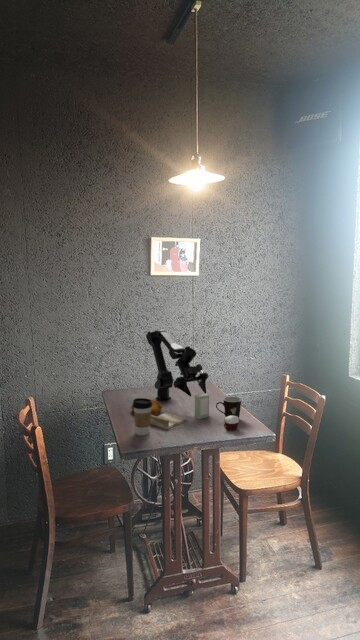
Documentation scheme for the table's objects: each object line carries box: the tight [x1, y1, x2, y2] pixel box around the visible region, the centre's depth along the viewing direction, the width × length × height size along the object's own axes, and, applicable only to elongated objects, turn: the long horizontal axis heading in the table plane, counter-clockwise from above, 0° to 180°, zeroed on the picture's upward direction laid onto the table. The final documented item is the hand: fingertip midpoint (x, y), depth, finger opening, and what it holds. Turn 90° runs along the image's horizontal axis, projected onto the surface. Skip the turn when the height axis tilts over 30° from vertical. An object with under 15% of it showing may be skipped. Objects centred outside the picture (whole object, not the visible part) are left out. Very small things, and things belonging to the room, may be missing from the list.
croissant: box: [131, 397, 163, 416], centre depth 213 cm, size 14×16×8 cm
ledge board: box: [150, 412, 187, 430], centre depth 200 cm, size 14×13×4 cm
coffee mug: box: [215, 396, 242, 419], centre depth 203 cm, size 12×9×10 cm
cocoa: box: [223, 400, 242, 432], centre depth 190 cm, size 10×6×12 cm, turn 103°
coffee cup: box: [132, 397, 152, 436], centre depth 186 cm, size 8×8×15 cm
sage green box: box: [194, 392, 210, 420], centre depth 206 cm, size 4×6×11 cm, turn 125°
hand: (198, 394), depth 208 cm, fingers open, 9 cm apart
